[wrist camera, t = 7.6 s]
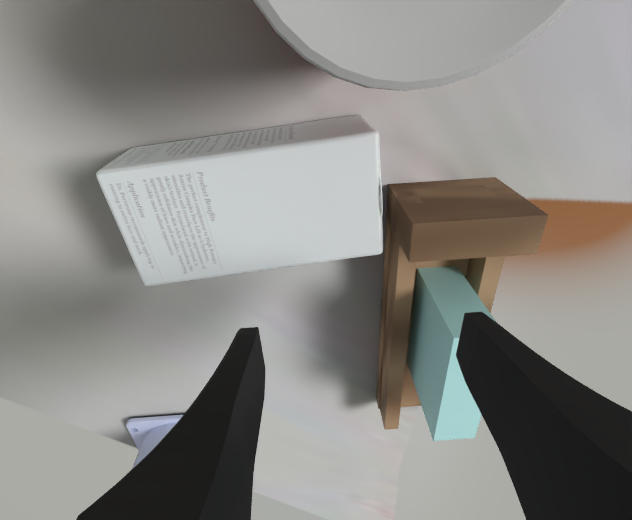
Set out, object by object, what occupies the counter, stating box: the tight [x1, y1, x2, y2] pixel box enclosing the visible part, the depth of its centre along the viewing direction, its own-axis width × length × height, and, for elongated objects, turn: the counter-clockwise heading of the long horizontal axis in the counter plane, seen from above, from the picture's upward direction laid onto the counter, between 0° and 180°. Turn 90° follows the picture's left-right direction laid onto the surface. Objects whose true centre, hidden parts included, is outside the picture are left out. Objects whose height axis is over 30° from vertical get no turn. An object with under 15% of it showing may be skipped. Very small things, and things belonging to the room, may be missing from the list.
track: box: [376, 178, 548, 429], centre depth 23 cm, size 18×6×5 cm, turn 3°
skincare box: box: [96, 115, 383, 286], centre depth 18 cm, size 6×4×12 cm
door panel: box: [407, 266, 496, 441], centre depth 22 cm, size 8×2×6 cm, turn 3°
